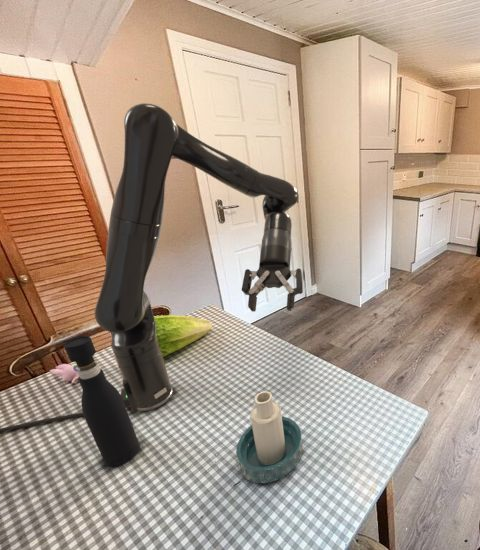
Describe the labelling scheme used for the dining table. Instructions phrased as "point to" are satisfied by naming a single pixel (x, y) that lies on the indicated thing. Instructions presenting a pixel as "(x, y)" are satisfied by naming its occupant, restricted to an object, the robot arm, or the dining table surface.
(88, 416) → the black insulated flask
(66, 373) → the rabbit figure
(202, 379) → the dining table surface
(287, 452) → the dish
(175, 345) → the lettuce
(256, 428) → the white bottle
